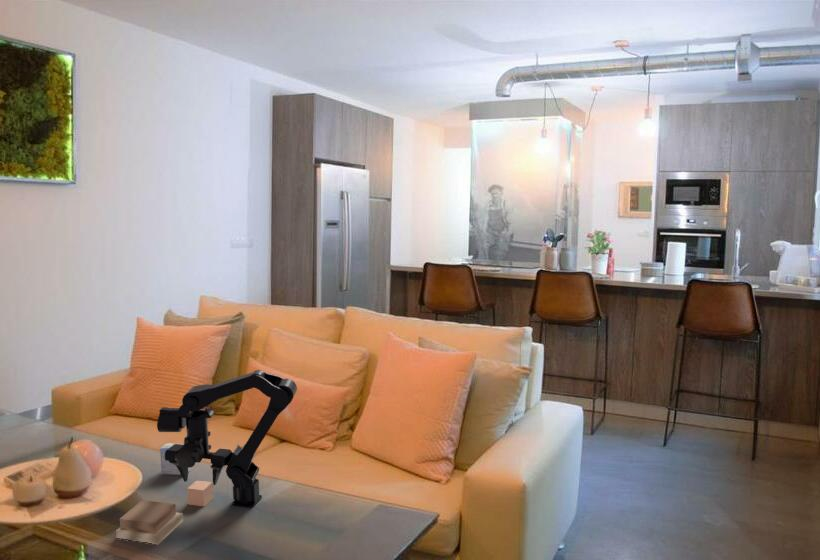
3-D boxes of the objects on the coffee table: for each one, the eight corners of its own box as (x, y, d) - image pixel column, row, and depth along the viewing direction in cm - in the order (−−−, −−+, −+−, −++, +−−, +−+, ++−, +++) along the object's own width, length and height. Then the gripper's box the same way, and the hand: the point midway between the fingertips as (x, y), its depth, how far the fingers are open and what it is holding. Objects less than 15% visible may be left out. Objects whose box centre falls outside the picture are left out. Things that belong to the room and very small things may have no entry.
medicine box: (191, 469, 218) (190, 443, 217) (185, 476, 214) (184, 449, 212) (167, 468, 219) (165, 442, 218) (161, 474, 215) (159, 448, 213)
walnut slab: (176, 514, 186) (175, 504, 186) (155, 533, 177) (154, 523, 176) (142, 510, 188) (141, 500, 188) (120, 529, 179) (119, 518, 178)
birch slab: (183, 523, 188) (182, 513, 187) (157, 547, 176) (157, 536, 176) (144, 518, 190) (143, 508, 190) (116, 541, 179) (115, 530, 178)
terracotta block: (213, 498, 200) (212, 482, 199) (204, 506, 195) (203, 490, 194) (197, 496, 201) (196, 480, 200) (188, 504, 196) (187, 488, 196)
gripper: (151, 439, 189) (154, 492, 192) (213, 446, 185) (216, 500, 188) (173, 424, 200) (177, 474, 202) (232, 430, 195) (235, 481, 198)
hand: (200, 482), depth 197 cm, fingers open, 9 cm apart
